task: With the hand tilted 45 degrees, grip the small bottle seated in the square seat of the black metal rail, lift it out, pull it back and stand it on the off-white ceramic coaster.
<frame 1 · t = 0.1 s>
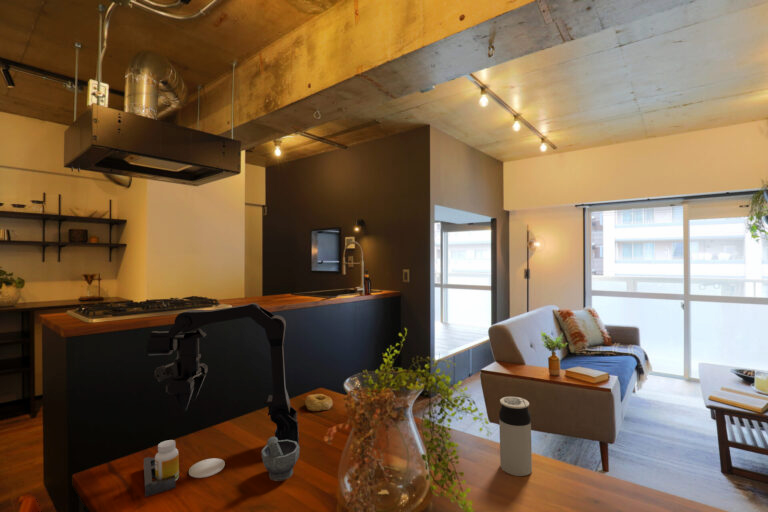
hand: (188, 405, 111), 15 cm above the table, tool pointing down, fingers open, 9 cm apart
coaster: (207, 468, 104), on the table
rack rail: (167, 480, 99), on the table
supplement bottle: (167, 481, 99), on the table
mortar and pestle: (280, 476, 100), on the table
travel mug: (516, 469, 100), on the table
bagel: (319, 407, 146), on the table
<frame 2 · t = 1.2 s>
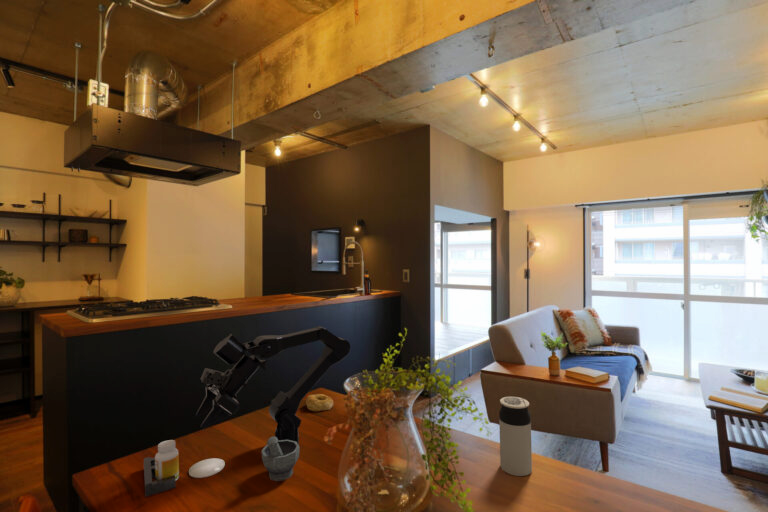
hand: (199, 421, 103), 13 cm above the table, tool tilted 45°, fingers open, 9 cm apart
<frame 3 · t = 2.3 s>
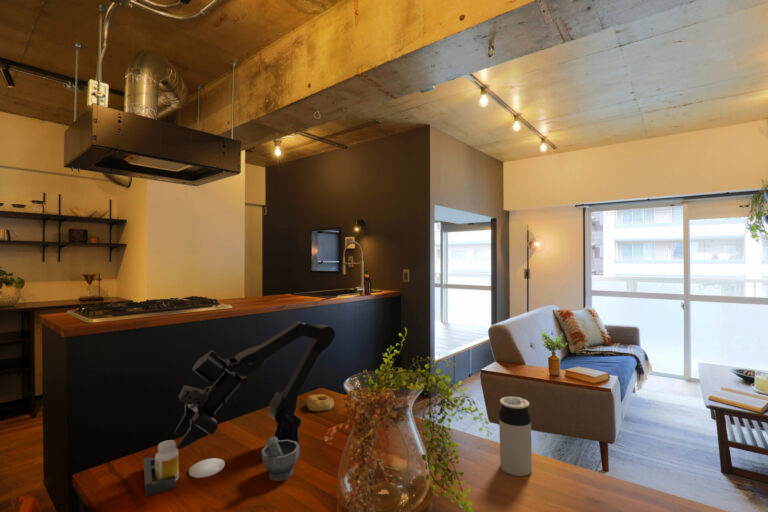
hand: (176, 441, 100), 10 cm above the table, tool tilted 45°, fingers open, 9 cm apart
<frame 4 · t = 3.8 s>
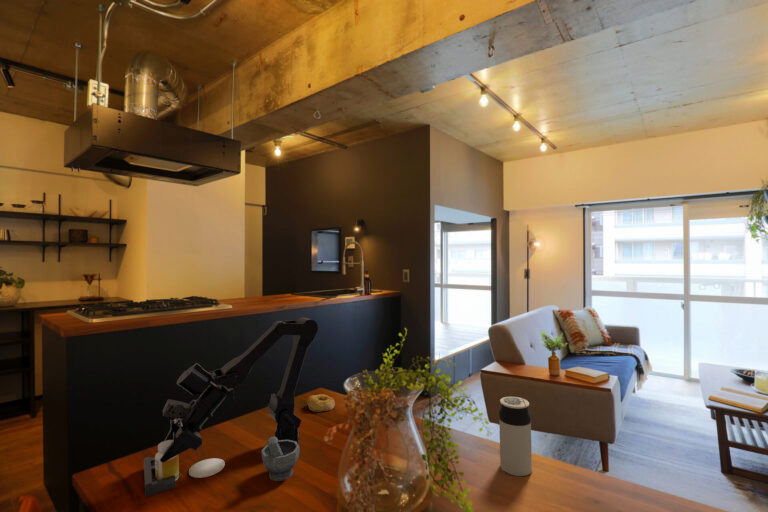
hand: (160, 456, 98), 7 cm above the table, tool tilted 45°, fingers closed on supplement bottle, 5 cm apart
supplement bottle: (167, 481, 99), on the table, touching gripper
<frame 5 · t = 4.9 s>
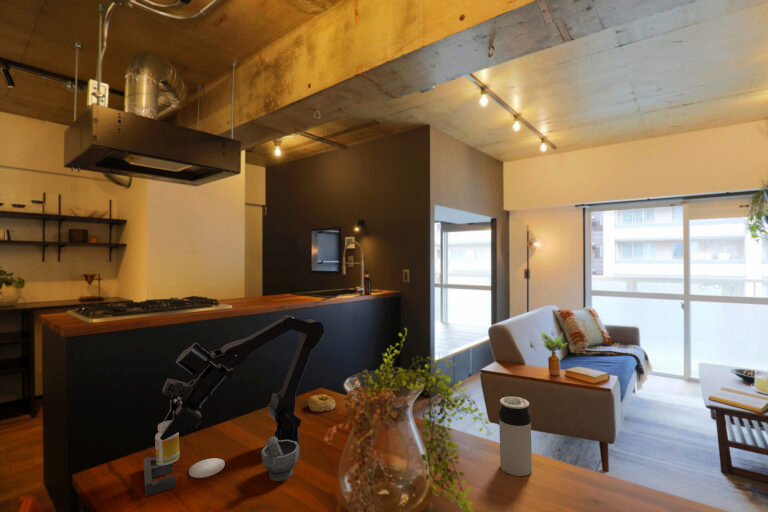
hand: (160, 435, 98), 12 cm above the table, tool tilted 45°, fingers closed on supplement bottle, 5 cm apart
supplement bottle: (168, 461, 99), point 5 cm above the table, touching gripper
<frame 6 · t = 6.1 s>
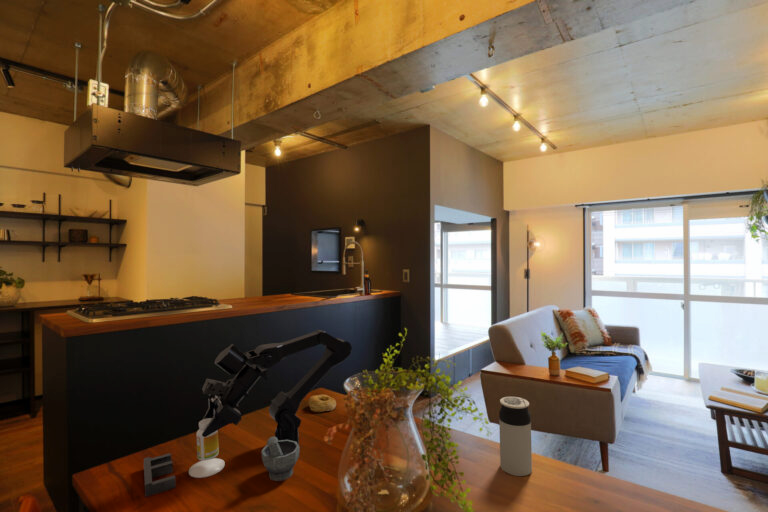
hand: (201, 432, 103), 10 cm above the table, tool tilted 45°, fingers closed on supplement bottle, 5 cm apart
supplement bottle: (208, 456, 104), point 3 cm above the table, touching gripper
when the fingers open (8 cm above the table, at t = 6.9 s): supplement bottle stays where it is, resting on coaster.
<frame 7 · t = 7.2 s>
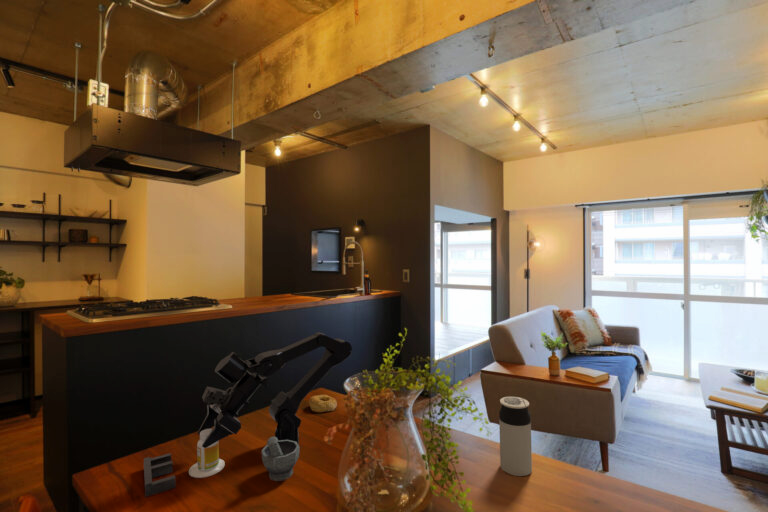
hand: (201, 440, 103), 8 cm above the table, tool tilted 45°, fingers open, 8 cm apart
supplement bottle: (208, 467, 104), resting on coaster
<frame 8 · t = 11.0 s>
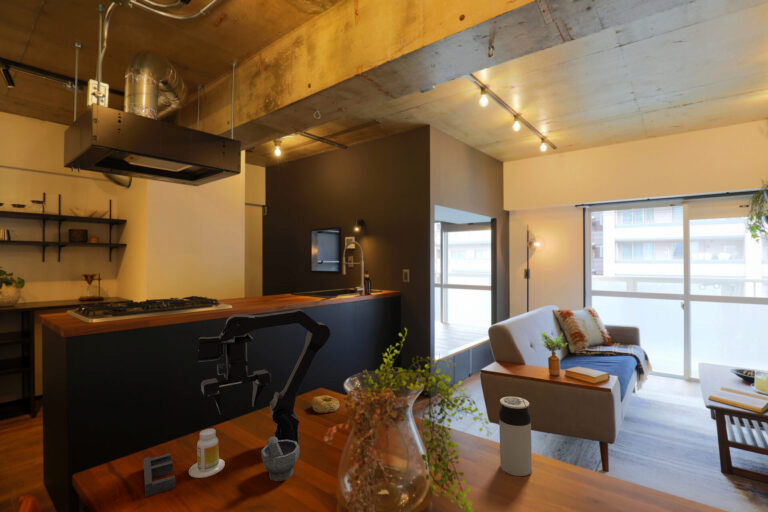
hand: (237, 410, 111), 13 cm above the table, tool pointing down, fingers open, 9 cm apart
bagel: (325, 409, 144), on the table
everything else where it was.
at the end: supplement bottle 0.3 cm from the coaster (horizontally); supplement bottle tilted 0°; the gripper is holding nothing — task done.
